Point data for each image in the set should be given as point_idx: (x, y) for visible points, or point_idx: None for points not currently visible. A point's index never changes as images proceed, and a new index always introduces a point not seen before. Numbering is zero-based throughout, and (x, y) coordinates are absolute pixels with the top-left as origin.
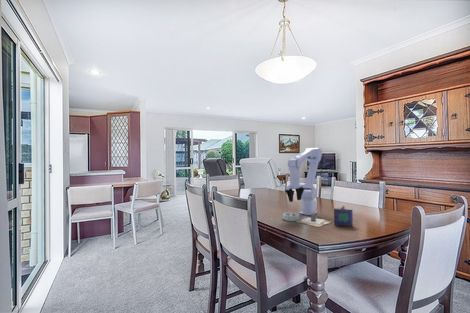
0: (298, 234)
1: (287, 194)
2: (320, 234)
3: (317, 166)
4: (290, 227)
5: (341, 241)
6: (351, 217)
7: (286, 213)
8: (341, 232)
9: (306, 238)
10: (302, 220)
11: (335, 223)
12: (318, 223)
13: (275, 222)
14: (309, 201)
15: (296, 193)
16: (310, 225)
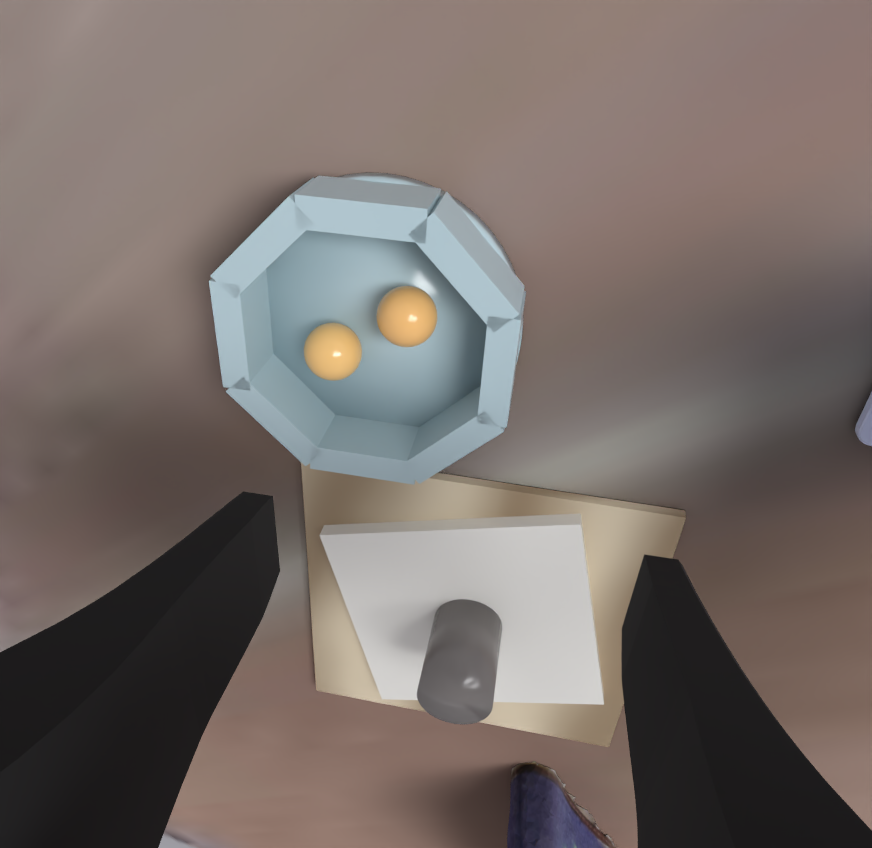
0: (8, 626)
1: (48, 643)
2: None
3: None
4: (75, 497)
5: (174, 829)
6: None
7: (363, 236)
8: (347, 816)
9: None
10: (412, 499)
11: (511, 792)
12: (386, 689)
13: (31, 230)
14: None
15: (695, 727)
16: (315, 621)
